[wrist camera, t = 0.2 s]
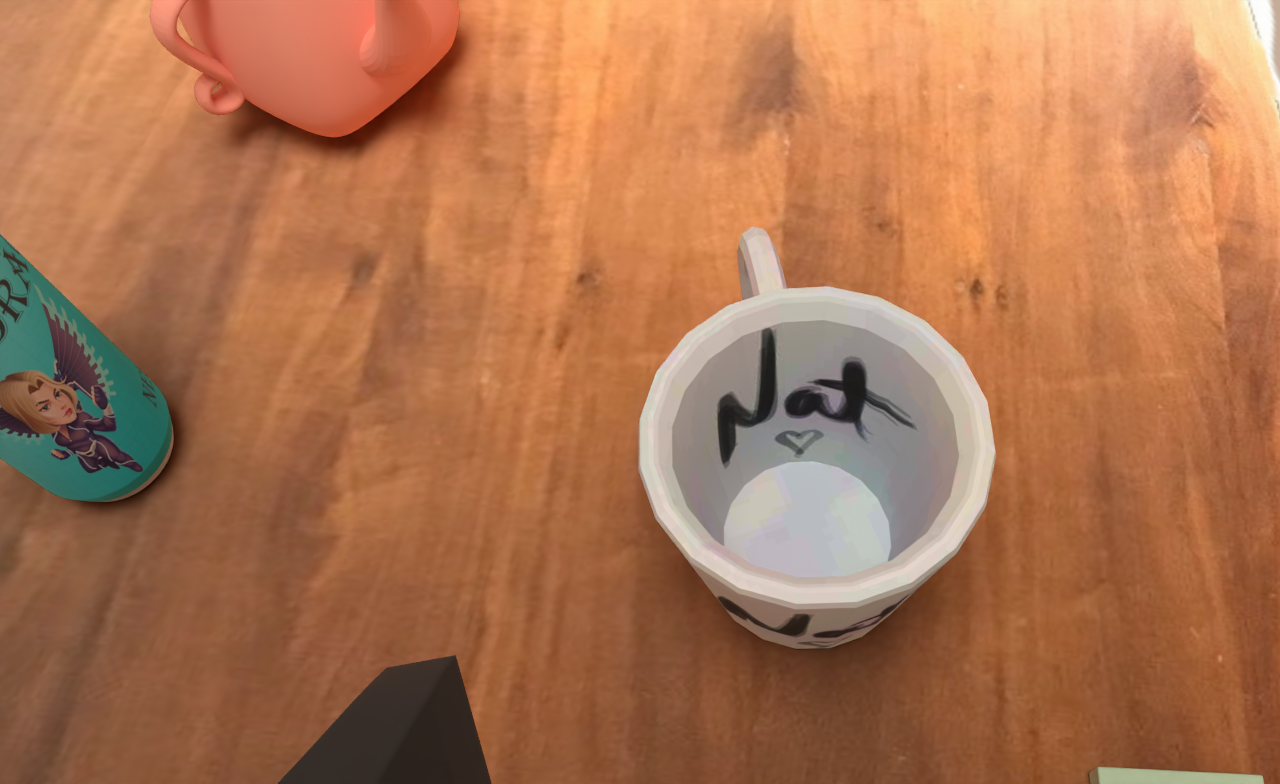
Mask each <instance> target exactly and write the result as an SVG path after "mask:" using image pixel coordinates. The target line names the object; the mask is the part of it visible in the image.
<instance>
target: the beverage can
mask: <svg viewBox="0 0 1280 784" xmlns="http://www.w3.org/2000/svg"><path fill="white" fill-rule="evenodd" d="M173 440H174V436H173V427H172V422H171V418H170V414H169V410H168V406H167V402H166V400H165V398H164V396H163V394H162V392H161V391H160V389H159V388H158V387H157V386H156V384H155V383H153V382H152V381H151V380H150V379H149V378H148V377H147V376H146V375H145V374H144V373H143V372H142V371H141V370H140V369H139V368H138V367H137V366H136V365H135V364H134V363H133V362H132V361H131V360H130V359H129V358H128V357H127V356H126V355H125V354H124V353H122V352H121V351H120V350H119V349H118V348H117V347H116V346H115V345H114V344H113V343H112V342H111V341H110V340H109V339H108V338H107V337H106V336H105V335H104V334H103V333H102V332H101V331H100V330H99V329H98V328H97V327H96V326H95V325H94V324H93V323H92V322H90V321H89V320H88V319H87V318H86V317H85V316H84V315H83V314H82V313H81V312H80V311H79V310H78V309H77V308H76V307H75V306H74V305H73V304H72V303H71V302H70V301H69V300H68V299H67V298H66V297H65V296H64V295H63V294H62V293H61V292H60V291H58V290H57V289H56V288H55V287H54V286H53V285H52V284H51V283H50V282H49V281H48V280H47V279H46V278H45V277H44V276H43V275H42V274H41V273H40V272H39V271H38V270H37V269H36V268H35V267H34V266H33V265H32V264H31V263H30V262H29V261H27V260H26V259H25V258H24V257H23V256H22V255H21V254H20V253H19V252H18V251H17V250H16V249H15V248H14V247H13V246H12V245H11V244H10V243H9V242H8V241H7V240H6V239H5V238H4V237H3V236H2V235H1V234H0V459H2V460H3V461H5V462H6V463H8V464H9V465H11V466H12V467H14V468H15V469H17V470H18V471H20V472H21V473H22V474H24V475H25V476H27V477H28V478H30V479H31V480H33V481H34V482H36V483H37V484H39V485H40V486H42V487H43V488H45V489H46V490H48V491H49V492H51V493H52V494H54V495H57V496H60V497H62V498H66V499H72V500H79V501H89V502H111V501H117V500H121V499H124V498H127V497H129V496H132V495H134V494H136V493H137V492H139V491H141V490H142V489H144V488H145V487H146V486H148V485H149V484H150V483H151V482H152V481H153V480H154V479H155V478H156V477H157V476H158V475H159V474H160V472H161V471H162V470H163V468H164V467H165V465H166V463H167V461H168V459H169V457H170V455H171V451H172V447H173Z"/></svg>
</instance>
